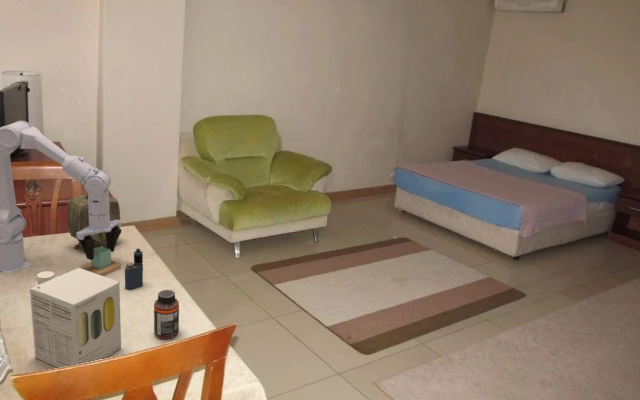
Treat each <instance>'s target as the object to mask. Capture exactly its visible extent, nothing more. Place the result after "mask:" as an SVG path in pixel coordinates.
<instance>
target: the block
mask: <svg viewBox="0 0 640 400" xmlns="http://www.w3.org/2000/svg"><path fill="white" fill-rule="evenodd" d="M97 247H98V246H97ZM97 247H94V258H93V260H90V262H91V265H92V266H94V267H97V268H99V269H101V268H104V267H106V266H109V265H111V261H112V252H111V249H108V248H107V247H105V246H103V245H102V246H101V247H98V248H97Z"/></svg>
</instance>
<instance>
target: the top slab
mask: <svg viewBox="0 0 640 400" xmlns="http://www.w3.org/2000/svg"><path fill="white" fill-rule="evenodd" d="M80 268H81V269H84V270H87V271H90V272H93V273H95V274H98V275H101V276H104V277H106V276H107V275H109V274H112V273H114V272H116V271H119V270H121V269H122V265H121V263H118V262H115V261H113V260H111V265H109V266H106V267H104V268H101V269H99V268H97V267H94V266H92V265H91V261H90V262H88V263H86V264H83V265H81V266H80Z"/></svg>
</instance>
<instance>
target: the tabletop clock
mask: <svg viewBox="0 0 640 400" xmlns="http://www.w3.org/2000/svg"><path fill="white" fill-rule="evenodd" d="M109 213H110V221H113V220H120V221H121V210H120V204H119V201H118V199H117V198H115V197H112V196H111V195H109ZM66 221H67V229H68V233H69V234H70V236H71V237H72V238H74V239H76V240H77V234H76V232H79V231H81V230H83V229H84V228H86V227H88V226H89V210H88V192H87V191H86V193H84V194H82V195H78V196H76V197H73V198H71V199H70V200H69V201H68V203H67V209H66ZM118 228H119V229H121V227H118ZM91 237H92V239H94V240H96V242H95V243H98V245H97V247H96V248H98V247H101V246H103V244H101V241H104V242H107V241H106V235H105V232H101V233H98V234H95V235H92V236H91ZM80 245H81V244H80V242H79V241H78V243H77V244H75V245H74V249H76V250H77V249H80Z"/></svg>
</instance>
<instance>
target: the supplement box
mask: <svg viewBox="0 0 640 400" xmlns="http://www.w3.org/2000/svg"><path fill="white" fill-rule="evenodd" d="M29 294H30V295H29V296H30V308H31V318H32V321H31V322H32V336H33V348H34V358H36V359H38V360H41V361H42V362H45V363H47V364H49V365H50V366H54V367H56V368H58V367H65V366H71V365H76V364H81V363H86V362H91V361H95V360H99V359H103V358H104V359H105V358H107V357H109V356H110V355H112V354H114V353H115V352H116V351H119V350H120V349H121V348H122V333H121V331H122V330H121V329H122V328H121V327H122V326H121V325H122V324H121V299H120V298H121V297H120V296H121V293H120V281H117V280H115V279H113V278H109V277H107V276H101V275H98V274H95V273H93V272H90V271H87V270H84V269H81V267H77V268H75V269H73V270H70V271H68V272H66V273H63V274H61V275H58V276H56V277H55V278H53V279H51V280H49V281H47V282H44V283H42V284H39V285H37V286H35V285H34V286H33V287H30V288H29ZM104 359H103V360H104Z"/></svg>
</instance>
